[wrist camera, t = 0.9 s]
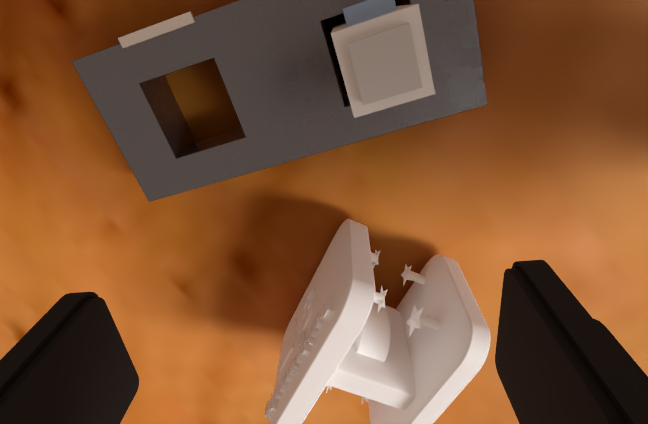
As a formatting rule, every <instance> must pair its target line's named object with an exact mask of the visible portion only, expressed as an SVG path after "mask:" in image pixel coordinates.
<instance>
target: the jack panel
mask: <svg viewBox="0 0 648 424" xmlns="http://www.w3.org/2000/svg"><path fill="white" fill-rule="evenodd" d="M364 1H367V0H238V1H236V2H233V3H230V4H227V5H225V6H222V7H219V8H217V9H214V10H211V11H208V12H206V13H203V14H200V15H197V16H195V17H194V15H193V13H192V11H190V12H187V13H184V14H182V15H179V16H176V17H173V18H171V19H168V20H165V21H163V22H160V23H157V24H155V25H152V26H149V27H146V28H144V29H141V30H138V31H136V32H133V33H130V34H127V35H125V36H122V37H119V38H118V40H119V42H120V44H118V45H115V46H113V47H110V48H107V49H105V50H102V51H99V52H96V53H94V54H91V55H88V56H85V57H83V58H80V59H77V60H75V61H72V63H73V65H74V67H75V69H76V70H77V72H78V74H79V76H80V78H81V79H82V81H83V83H84V85H85V87H86V89H87V90H88V92H89V94H90V96H91V98H92V99H93V101H94V103H95V105H96V107H97V108H98V110H99V112H100V114H101V116H102V117H103V119H104V121H105V123H106V125H107V127H108V128H109V130H110V132H111V134H112V136H113V137H114V139H115V141H116V143H117V145H118V146H119V148H120V150H121V152H122V154H123V155H124V157H125V159H126V161H127V163H128V164H129V166H130V168H131V170H132V172H133V174H134V175H135V177H136V179H137V181H138V183H139V184H140V186H141V188H142V190H143V192H144V193H145V195H146V197H147V199H148V201H149V202H150V201H154V200H157V199H161V198H164V197H167V196H171V195H174V194H178V193H181V192H185V191H188V190H192V189H195V188H199V187H202V186H206V185H209V184H213V183H216V182H220V181H223V180H226V179H230V178H233V177H237V176H240V175H244V174H247V173H251V172H254V171H258V170H261V169H265V168H268V167H272V166H275V165H278V164H282V163H285V162H289V161H292V160H296V159H299V158H303V157H306V156H310V155H313V154H317V153H320V152H324V151H327V150H331V149H334V148H337V147H341V146H344V145H348V144H351V143H355V142H358V141H362V140H365V139H369V138H372V137H376V136H379V135H383V134H386V133H390V132H393V131H396V130H400V129H403V128H407V127H410V126H414V125H417V124H421V123H424V122H428V121H431V120H435V119H438V118H442V117H445V116H449V115H452V114H455V113H459V112H462V111H466V110H469V109H473V108H476V107H480V106H483V105H487V98H486V90H485V83H484V75H483V67H482V59H481V52H480V44H479V36H478V28H477V21H476V13H475V5H474V0H400V1H401V6H402V5H412V4H419V9H420V14H421V20H422V25H423V31H424V36H425V42H426V47H427V53H428V58H429V63H430V69H431V74H432V80H433V85H434V91H435V94H433V95H430V96H427V97H423V98H420V99H417V100H413V101H410V102H406V103H403V104H400V105H396V106H393V107H390V108H386V109H383V110H380V111H376V112H373V113H370V114H366V115H363V116H360V117H356V118H354V116H353V112H352V108H351V105H350V101H349V98H348V95H344V94H343V90H342V87H341V83H340V80H339V76H338V72H337V69H336V65H335V62H334V58H333V55H332V51H331V48H330V44H329V40H328V37H327V33H326V30H325V26H324V23H323V20H324V19H327V18H330V17H333V16H336V15H339V14H342V13H343V10H342V9H344V8H347V7H349V6H352V5H355V4H358V3H361V2H364ZM211 58H214V59H215V62H216V64H217V67H218V69H219V72H220V74H221V77H222V79H223V82H224V84H225V87H226V89H227V91H228V94H229V96H230V99H231V101H232V104H233V106H234V109H235V111H236V114H237V116H238V119H239V121H240V124H241V126H242V127H241V128H238V129H235V130H231V131H228V132H225V133H222V134H218V135H215V136H212V137H209V138H205V139H202V140H199V141H196V142H195V141H194V139H193V136H192V134H191V132H190V130H189V128H188V126H187V123H186V121H185V119H184V117H183V115H182V113H181V111H180V108H179V106H178V104H177V102H176V100H175V98H174V95H173V93H172V91H171V89H170V87H169V85H168V83H167V80H166V78H165V76H164V75H165V74H168V73H171V72H173V71H176V70H179V69H182V68H185V67H188V66H191V65H194V64H197V63H200V62H202V61H205V60H208V59H211Z"/></svg>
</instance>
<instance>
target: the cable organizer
mask: <svg viewBox="0 0 648 424" xmlns="http://www.w3.org/2000/svg"><path fill="white" fill-rule="evenodd" d="M380 251H381V250H380ZM380 251H379V252H377V250H375V253H372V252H371V250H370V242H369V235H368V228H367V226H366V225H363V224H361V223H359V222H356V221H354V220H351V219H346V220H345V221H344V222H343V223H342V224H341V226H340V227H339V229H338V230H337V232H336V234H335V236H334V238H333V240H332V241H331V243H330V245H329V247H328V249H327V251H326V253H325V255H324V257H323V259H322V261H321V263H320V265H319V266H318V268H317V270H316V272H315V274H314V276H313V278H312V280H311V282H310V284H309V286H308V288H307V290H306V291H305V293H304V295H303V297H302V299H301V301H300V303H299V305H298V307H297V309H296V311H295V313H294V314H293V316H292V318H291V320H290V322H289V325H288V327H287V329H286V332H285V335H284V338H283V342H282V347H281V353H280V359H279V365H278V370H277V376H276V382H275V388H274V394H273V395H271V399H270V401H268V402H267V405H266V409H265V417H267V418H269V424H302V423H303V421H304V420H305V418H306V417H307V415H308V413H309V412H310V410H311V409H312V407H313V406H314V404H315V402H316V401H317V399H318V398H319V396H320V395H321V393H322V391H323V390H324V388H325V387H326V386H327V391H328V389H329V388H330V389H332V387H335V388H338V389H341V390H344V391H347V392H350V393H353V394H356V395H359V396H362V403H363V401H364V399H365V400H366V401H367V403H369V417H370V424H433V423H434V422H435V421H436V420H437V418H438V417H439V416H440V415H441V414H442V413H443V412H444V410H445V409H446V408H447V407H448V406H449V405H450V404H451V402H452V401H453V400H454V399H455V398H456V397H457V396H458V394H459V393H460V392H461V391H462V390H463V389H464V388H465V386H466V385H467V384H468V383H469V382H470V381H471V380H472V378H473V377H474V376H475V375H476V374H477V373H478V371H479V370H480V369H481V367H482V365H483V364H484V362H485V360H486V357H487V355H488V352H489V347H490V330H489V328H488V325H487V323H486V321H485V319H484V317H483V315H482V313H481V311H480V309H479V306H478V304H477V302H476V300H475V298H474V296H473V294H472V292H471V289H470V287H469V285H468V283H467V281H466V279H465V277H464V275H463V273H462V270H461V268H460V266H459V264H458V262H457V261H456V260H454V259H452V258H450V257H447V256H445V255H442V254H437V255H435V256H433V257H432V258H431V259H430V260H429V261H428V262H427V263H426V265H425V266H424V268H423V269H422V271H421V272H420V274H418V273H415V272H413V271H410V270H411V267H412V265H411V266H410V267H407V264H405V270H404V272H403V273H402V274H401V276H402V277H403V278H404V281H403V286H404V284H405V282H406V280H410V281H411V280H412V281H414V283H413V284H412V285H411V287H410V288H409V290H408V291H407V293H406V294H405V296H404V297H403V299H402V300H401V302H400V303H399V305H398V306H397V308H396V309H394V308H391V307H389V306H386V305H385V296H386V293H387V290H388V289H387V290H385V291H384V292H383V288H382V286H381V291H380V293H379V292H376V291H375V280H374V273H373V268H374V266H375V264H376V265H379V263H378V257H379V254H380ZM372 262H373V265H372ZM327 391H326V393H327ZM361 405H362V404H361Z"/></svg>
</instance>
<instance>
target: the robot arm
mask: <svg viewBox="0 0 648 424" xmlns="http://www.w3.org/2000/svg"><path fill="white" fill-rule="evenodd" d="M495 363H496V368H497V372H498V375H499V377H500V379H501V382H502V384H503V386H504V389H505V391H506V393H507V396H508V398H509V400H510V402H511V405H512V407H513V409H514V412H515V414H516V416H517V418H518V421H519V423H520V424H648V377H647V375H646V374H645V373H644V372H643V371H642V369H641V368H640V367H639V366H638V365H637V364H636V362H635V361H634V360H633V359H632V358H631V356H630V355H629V354H628V353H627V352H626V350H625V349H624V348H623V347H622V346H621V345H620V343H619V342H618V341H617V340H616V339H615V337H614V336H613V335H612V334H611V333H610V331H609V330H608V329H607V328H606V327H605V326H604V325H603V324H602V323H601V322H600V321H598V320H595V319H593V318H592V317H591V316H590V315H589V313H588V312H587V311H586V310H585V309H584V307H583V306H582V305H581V304H580V303H579V301H578V300H577V299H576V298H575V296H574V295H573V294H572V293H571V292H570V290H569V289H568V288H567V287H566V285H565V284H564V283H563V282H562V281H561V279H560V278H559V277H558V276H557V275H556V273H555V272H554V271H553V270H552V268H551V267H550V266H549V265H548V264H547V263H546V262H545V261H544V260H532V261H518V262H515V263H514V264H513V266H512V269H506V270H505V273H504V280H503V289H502V299H501V308H500V317H499V326H498V336H497V345H496V354H495ZM138 386H139V377H138V374H137V372H136V370H135V368H134V365H133V363H132V361H131V359H130V356H129V354H128V352H127V350H126V347H125V345H124V343H123V341H122V338H121V336H120V334H119V332H118V330H117V327H116V325H115V323H114V321H113V318H112V316H111V314H110V312H109V309H108V307H107V305H106V303H105V301H104V299H102V298H100V297H98V295H97V294H95V293H94V292H81V293H69V294H65V295H64V296H63V297H62V298H61V299H60V300H59V301H58V302H57V303H56V304H55V305H54V306H53V307H52V308H51V309H50V310H49V311H48V312H47V313H46V314H45V315H44V316H43V317H42V318H41V319H40V320H39V321H38V322H37V323H36V324H35V325H34V326H33V327H32V328H31V329H30V330H29V331H28V332H27V333H26V334H25V336H24V337H23V338H22V339H21V340H20V341H19V342H18V343H17V344H16V345H15V346H14V347H13V348H12V349H11V350H10V351H9V352H8V353H7V354H6V355H5V356H4V357H3V358H2V359H1V360H0V424H120V422H121V420H122V419H123V417H124V415H125V413H126V411H127V409H128V407H129V405H130V404H131V402H132V400H133V398H134V396H135V394H136V392H137V390H138Z"/></svg>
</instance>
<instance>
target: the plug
mask: <svg viewBox="0 0 648 424" xmlns="http://www.w3.org/2000/svg"><path fill="white" fill-rule="evenodd" d="M342 10H343V14H344V17H345V21H346V22H345V23H342V24H339V25H336V26H334V27H333V29H332V32H331V36H332V40H333V43H334V47H335V51H336V54H337V58H338V61H339V65H340V69H341V72H342V76H343V80H344V83H345V87H346V90H347V94H348V98H349V101H350V105H351V108H352V112H353V116H354V118H356V117H360V116H363V115H366V114H370V113H373V112H376V111H380V110H383V109H386V108H390V107H393V106H396V105H400V104H403V103H406V102H410V101H413V100H417V99H420V98H423V97H427V96H430V95H433V94H435V91H434V85H433V80H432V74H431V69H430V63H429V58H428V53H427V47H426V42H425V36H424V31H423V25H422V20H421V14H420V9H419V4H412V5H402V6H396V4H395V0H367V1H364V2H361V3H358V4H355V5H352V6H349V7H347V8H344V9H342Z"/></svg>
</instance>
